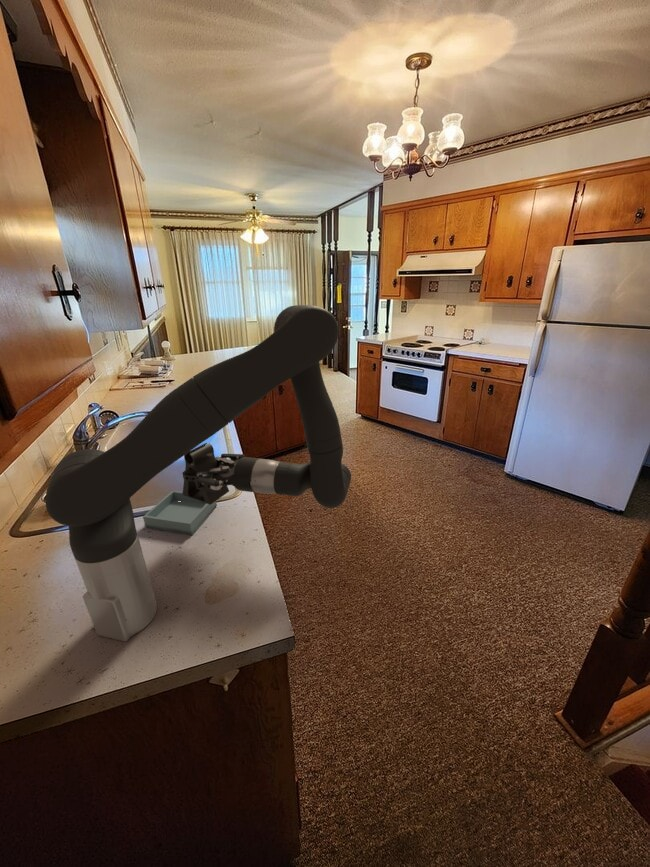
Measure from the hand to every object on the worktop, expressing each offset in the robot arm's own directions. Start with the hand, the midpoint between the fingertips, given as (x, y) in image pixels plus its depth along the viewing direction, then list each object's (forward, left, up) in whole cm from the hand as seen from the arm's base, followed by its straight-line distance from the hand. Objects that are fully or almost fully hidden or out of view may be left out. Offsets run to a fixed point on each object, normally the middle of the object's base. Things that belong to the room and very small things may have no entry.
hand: (192, 468), depth 81 cm
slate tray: (+3, +8, -18) cm, 20 cm away
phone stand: (0, -2, -7) cm, 7 cm away
